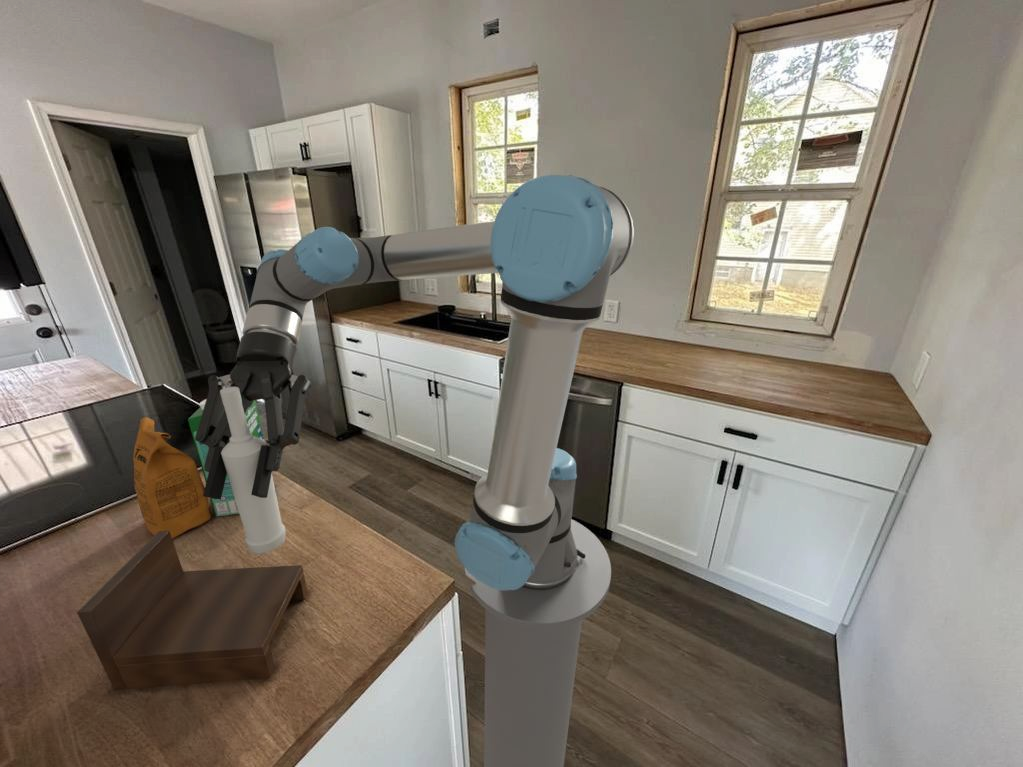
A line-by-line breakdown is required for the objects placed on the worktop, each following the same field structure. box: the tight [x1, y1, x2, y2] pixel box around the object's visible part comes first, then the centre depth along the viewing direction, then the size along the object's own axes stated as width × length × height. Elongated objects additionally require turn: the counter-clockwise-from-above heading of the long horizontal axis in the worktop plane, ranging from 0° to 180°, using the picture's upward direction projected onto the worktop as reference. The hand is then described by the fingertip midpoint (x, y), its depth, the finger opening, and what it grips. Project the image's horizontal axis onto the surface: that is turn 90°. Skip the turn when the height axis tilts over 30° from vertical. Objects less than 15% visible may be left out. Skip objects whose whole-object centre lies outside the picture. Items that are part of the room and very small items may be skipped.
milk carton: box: [187, 398, 265, 517], centre depth 86 cm, size 9×9×25 cm
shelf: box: [76, 531, 308, 691], centre depth 59 cm, size 20×14×14 cm
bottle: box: [220, 386, 286, 555], centre depth 57 cm, size 5×5×25 cm
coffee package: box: [133, 416, 212, 540], centre depth 80 cm, size 10×12×22 cm
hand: (235, 496), depth 54 cm, fingers closed on bottle, 5 cm apart
